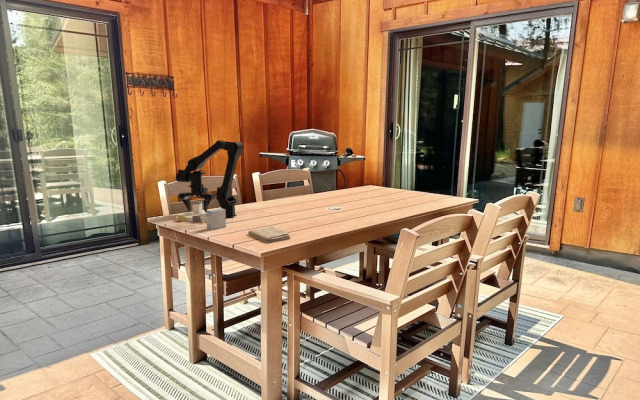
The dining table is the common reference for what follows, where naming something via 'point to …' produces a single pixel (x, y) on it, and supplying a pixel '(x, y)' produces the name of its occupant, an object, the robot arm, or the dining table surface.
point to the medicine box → (216, 218)
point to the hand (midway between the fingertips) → (197, 211)
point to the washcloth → (269, 234)
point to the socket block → (192, 217)
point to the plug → (197, 207)
